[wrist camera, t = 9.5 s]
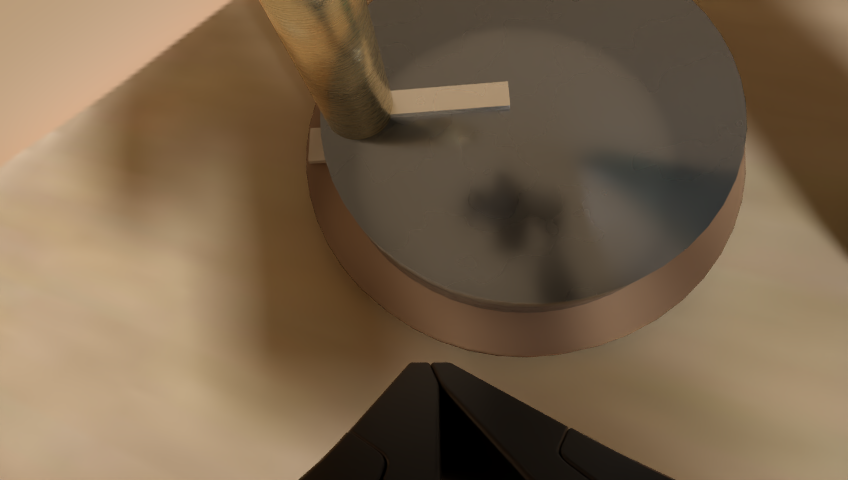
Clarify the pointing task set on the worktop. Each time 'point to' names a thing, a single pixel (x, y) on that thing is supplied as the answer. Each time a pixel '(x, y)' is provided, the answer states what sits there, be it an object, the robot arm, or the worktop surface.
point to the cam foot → (522, 137)
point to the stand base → (510, 328)
